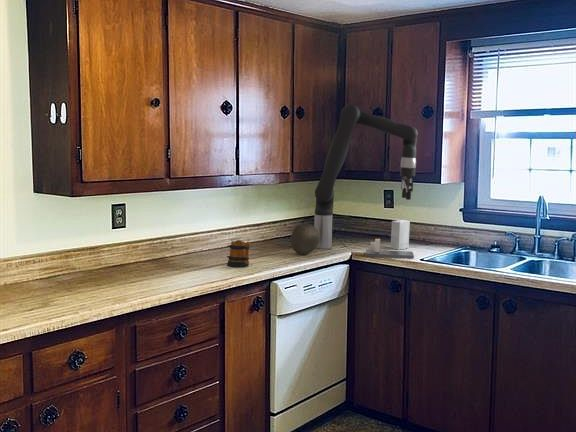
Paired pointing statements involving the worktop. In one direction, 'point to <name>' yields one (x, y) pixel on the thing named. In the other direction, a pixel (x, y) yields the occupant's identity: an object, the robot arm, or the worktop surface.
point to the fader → (377, 245)
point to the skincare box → (400, 234)
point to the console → (388, 253)
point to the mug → (238, 254)
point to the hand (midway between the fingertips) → (406, 198)
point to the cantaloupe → (304, 239)
